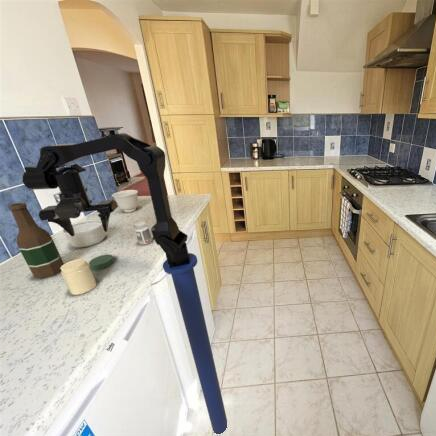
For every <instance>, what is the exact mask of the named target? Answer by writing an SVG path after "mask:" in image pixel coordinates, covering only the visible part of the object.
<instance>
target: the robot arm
mask: <svg viewBox="0 0 436 436" xmlns="http://www.w3.org/2000/svg"><path fill="white" fill-rule="evenodd" d="M113 150H119V151H121V152H122V153H123V154H124V155H125V156H126V157H127V158H129V159H131V160H133V161H134V162H136V164H137V166H138V168H139V171H140V172H141V173H142V175H143V176H144V177H145V178H146V181H147V186H148V190H149V194H150V199H151V203H152V207H153V212H154V217H155V221H156V222H155V224H154V225H153V226H152V227H151V228H150V233H151V234H152V241H154V243H155V244H156V245H158V246H159V247H160V248H161V249H162V251H163V252H164V254H165V257H166V260H167V261H168V264H170V268H173V267H178V266H182V265H187V264H190V255H189V254H188V253H189V250H188V245H187V241H188V237H189V236H188V234H186V233H184V232H183V231H182V230H180V228H179V225H178V223H177V222H176V220H174V218H173V216H172V212H171V207H170V202H169V196H168V191H167V186H166V181H165V171H166V152H165V151H164V150H163V149H162V148H161V147H159V146H157V145H151V144H150V143H147V142H146V141H143V140H140V139H137V138H135V137H133V136H132V135H130V134H128V133H125V132H120V133H113V134H112V135H109V136H105V137H100V138H97V139H92V140H91V139H90V140H88V141H84V142H83V141H82V142H80V143H59V144H53V145H46V146H42V147H41V148H40V151H39V159H38V162H37V164H36V165H29V166H24V167H23V168H24V173H23V175H22V179H21V180H22V183H23V185H24V186H25V187H26V188H27V189H30V190H33V191H34V190H53V189H57V188H58V189H59V191H60V192H59V194H58V198H59V202H58V203H57V204H54V205H48V206H46V207H44V208H43V209H41V210H39V212H38V216H39V219H40V221H46V222H48V223H53V224H57V225H58V226H60V227H61V228H62V230H63V229H64V230H65V231H66V232H68V233H69V234H70V235H71V236H74V235H75V233H74V229H73V226H72V220H71V219H78V218H79V217H80V216H81V213H85V212H97V213H99V214H97V217H99V220H101V222H102V226H103V229H104V231H105V233H107V232H108V229H109V222H110V216H111V214H112V213H113V212H115V211H116V210H117V208H119V206H118V204H117V202H116V200H115V198H113V199H104V200H103V199H102V200H100V201H99V202H98V203H95V204H92V203H93V201H92V199H90V198H89V196H88V193H87V192H88V191H89V190H88V188H87V187H85V185H84V182H83V180H82V178H81V173H83V172H86V171H87V169H86V168H85V167H83V166H81V165H79V164H78V163H77V162H79V161H80V160H83V159H84V158H86V157H88V156H92V155H96V154H100V153H104V152H109V151H113ZM70 164H71V165H70ZM67 165H69V166H67ZM57 169H58V170H57Z"/></svg>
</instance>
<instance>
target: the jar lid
mask: <svg viewBox="0 0 436 436" xmlns="http://www.w3.org/2000/svg"><path fill="white" fill-rule="evenodd" d="M114 263H115V257H114V255H113V254H110V253H109V254H108V253H107V254H102V255H98V256H96V257H93V258H92V259H91V260H89V262H88V264H89V266H90V269H91V270H101V269H104V268H107V267H110V266H111V265H113V264H114Z"/></svg>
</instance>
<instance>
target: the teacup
mask: <svg viewBox="0 0 436 436" xmlns="http://www.w3.org/2000/svg"><path fill="white" fill-rule="evenodd" d="M138 193H139V191H138V190H136V189H126V190H120V191H117V192H114V193H112V194H111V197H113V199H114V200H115V201H116V202H117V204H118V208H119V209H120V210H123V212H124V213H132V212H134V211H136V210H137V207H138V206H139V199H138V198H139V197H138Z"/></svg>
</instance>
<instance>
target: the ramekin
mask: <svg viewBox="0 0 436 436" xmlns="http://www.w3.org/2000/svg"><path fill="white" fill-rule="evenodd" d="M71 224H72V223H71ZM72 226H73V229H74V233H75V235H74V236H71V235H70V234H69V233H68V232H66V231H65V230H64V229H63V228H62V230H61V235H62V236H63V237H65V240H66V241H67V242H68V244H69V245H70V246H72V247H74V248H86V247H90V246H94V245H97V244H99V243H101V242H102V241H103V240H104V239H105V237H106V232H105V231H104V229H103V226H102V222H101V219H89V220H83V221H79V222H76V223H75V222H74V223H73V224H72Z"/></svg>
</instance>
